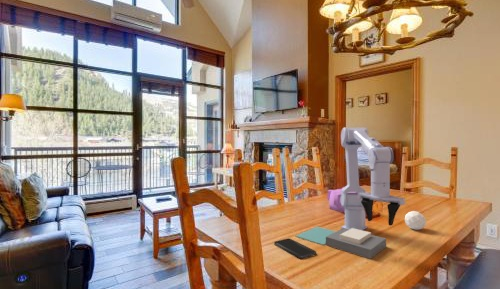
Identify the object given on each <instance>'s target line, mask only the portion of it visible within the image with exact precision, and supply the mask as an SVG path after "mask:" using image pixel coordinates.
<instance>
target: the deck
mask: <svg viewBox="0 0 500 289" xmlns="http://www.w3.org/2000/svg"><path fill="white" fill-rule="evenodd" d="M348 230H350V229H346V228H341V229H339V230H336V232H335V233H333V234H330V235H328V236H326V244H325V245H326V246H328V247H331V248H334V249H336V250H337V249H338V250H341V251H344V252H347V253H350V254H354V255H357V256H360V257H363V258H366V259H369V260H371V259H372V258H374V257H375V256H376V255H377V254H379V253H380V252H381V251H383V250H384V249H385V248H386V247H387V238H386V237H382V236H377V235H374V234H371V237H370V238H368V239H366V240H365V241H363V242H362V243H360V244H357V243H353V242H350V241H346V240H343V239H340V234H342V233H344V232H346V231H348Z"/></svg>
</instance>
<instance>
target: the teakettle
mask: <svg viewBox="0 0 500 289" xmlns="http://www.w3.org/2000/svg"><path fill="white" fill-rule="evenodd" d="M344 187H345V186H343V187H341V188H337V189H328V190H327V197H326V199H327V201H328V206H329V210H332V211H335V212H341V213H345V207H343V206H342V205H341V200H340V197H341V190H342V189H343V188H344ZM348 193H359V192H348Z"/></svg>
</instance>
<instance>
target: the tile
mask: <svg viewBox="0 0 500 289" xmlns="http://www.w3.org/2000/svg"><path fill="white" fill-rule="evenodd" d="M371 235H372V232H370V231H366V230H358V229H354V228H351V229H350V230H348V231H346V232H344V233H342V234H340V239H343V240H346V241H350V242H353V243H357V244H360V243H362V242H363V241H365V240H366V239H368V238H370V237H371Z"/></svg>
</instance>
